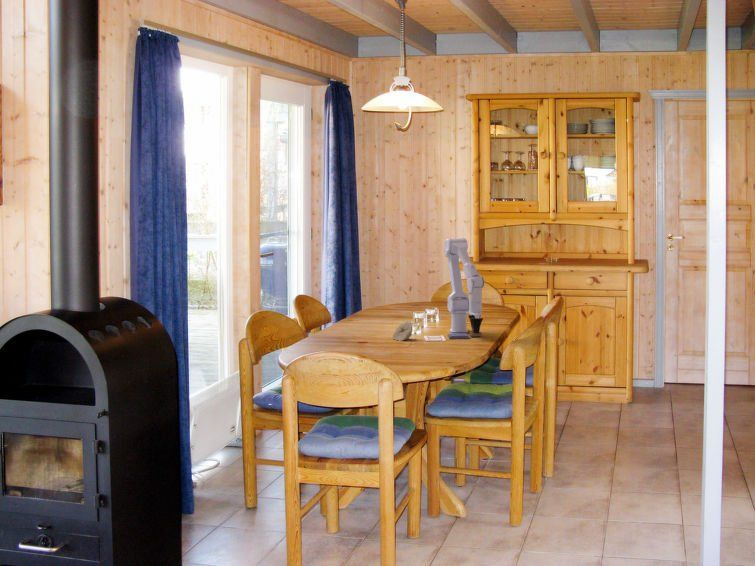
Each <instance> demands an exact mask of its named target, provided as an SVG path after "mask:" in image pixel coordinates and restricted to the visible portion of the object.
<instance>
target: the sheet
mask: <svg viewBox="0 0 755 566" xmlns="http://www.w3.org/2000/svg"><path fill="white" fill-rule="evenodd" d="M423 337H424V341H425V342H446V341H447V340H446V338H445V337H444V335H442V334H441V335H438V334H437V335H435V334H434V335H423Z"/></svg>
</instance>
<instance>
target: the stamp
mask: <svg viewBox="0 0 755 566" xmlns="http://www.w3.org/2000/svg"><path fill="white" fill-rule="evenodd" d="M469 337H470V338H472V339H473V338H481V337H482V333H481V331H479V333H474V330H473V331H470V332H469Z"/></svg>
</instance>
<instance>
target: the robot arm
mask: <svg viewBox="0 0 755 566" xmlns="http://www.w3.org/2000/svg"><path fill="white" fill-rule="evenodd" d="M468 244H469V243H468V240H467V239H466V237H461V238H459V237H458V238H446V239H445V241H444V244H443V248H444V249H443V250H444V255H445V256H444V257H446V258H447V262H448V269H449V278H450V284H451V294H449V295H448V296H447V304H446V305H447V310H448V312H449V313H450V314H451V317H450V318H451V322H450V323H451V328H449V331H450V333H469V331H468V328H467V327H468V326H467V324H468V323H467V315H468V314H469V315H468V318H469V322H470V326H471V332H473V330H474V333H479V332H480V329H481V325H482V322H483V320H484V318H483V317H481V315H482V314H483V307H482V305H483V303H482V302H483V301H482V300H483V297H482V296H483V288H484V286H485V279H484V276H483V275H481V274H480V273H479V271H478V270H477V268H476V265H475V263H473V262H472V261H471V259H470V255H469V253H468V247H469V245H468ZM460 261H461V264H462V265H463V267H462V271H463V272H464V275H465V277H466V287H467V291H468V294H467V293H466V292H464V289H463V281H462V275H461V267H460Z"/></svg>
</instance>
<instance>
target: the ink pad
mask: <svg viewBox="0 0 755 566" xmlns="http://www.w3.org/2000/svg"><path fill="white" fill-rule="evenodd" d="M447 338H448V339H449V340H469V339H470V335H468V333H467V332H449V333H448V334H447Z"/></svg>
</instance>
